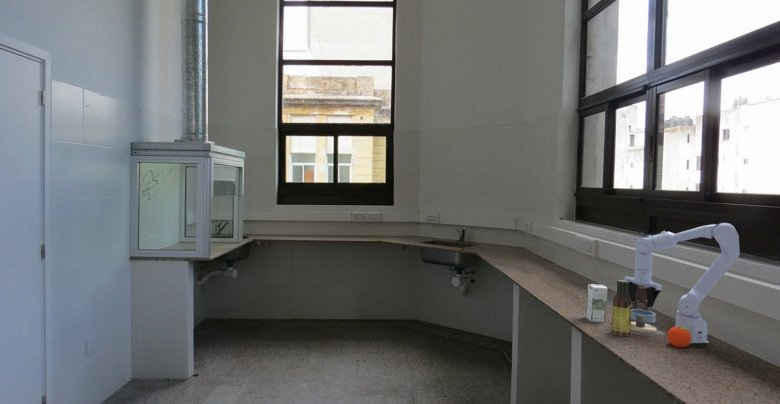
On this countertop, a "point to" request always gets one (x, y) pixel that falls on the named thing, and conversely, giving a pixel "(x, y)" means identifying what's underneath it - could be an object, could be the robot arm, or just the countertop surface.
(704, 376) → the countertop surface
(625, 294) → the sauce bottle
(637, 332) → the mat
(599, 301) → the syrup box
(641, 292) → the box
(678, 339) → the clementine
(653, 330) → the lid
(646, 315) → the bowl
